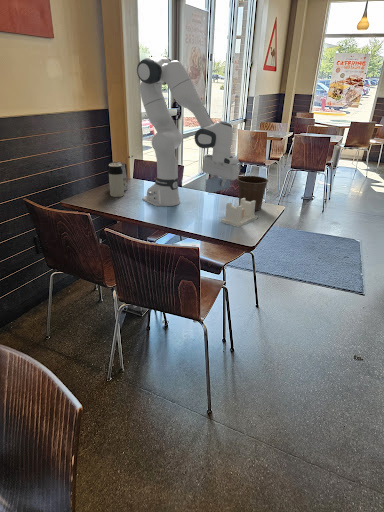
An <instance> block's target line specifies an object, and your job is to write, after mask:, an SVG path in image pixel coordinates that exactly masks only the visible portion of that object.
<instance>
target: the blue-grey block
mask: <svg viewBox="0 0 384 512" xmlns="http://www.w3.org/2000/svg"><path fill="white" fill-rule="evenodd" d="M222 181H223V180H222V177H218V176H215V178H211V177H210V178H207V179H206V180H205V189H204V192H205V193H209V194H212V193H216V192H220V191H223V190H226V189H230V186H231V180H229V179H227V180H226V182H225V183H224V186H223V187H222V186H220V183H221V182H222Z"/></svg>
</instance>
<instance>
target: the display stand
mask: <svg viewBox="0 0 384 512" xmlns="http://www.w3.org/2000/svg"><path fill="white" fill-rule="evenodd" d="M245 199H246V198H242V199H241V200H240V206H239V205H238V206H235V205H233V203H232V202H228V203H226V208H225V217H224V218H222V219H220V222H221V223H223V224H227V225H229V226H232V227H235V228H239V227H241V226H244V225H246V224H248V223H250V222H252V221H255V220H257V219H259V215H255V212H256V211H255V202H256V201H255V200H254V201H251V202H249V201H245Z"/></svg>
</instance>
